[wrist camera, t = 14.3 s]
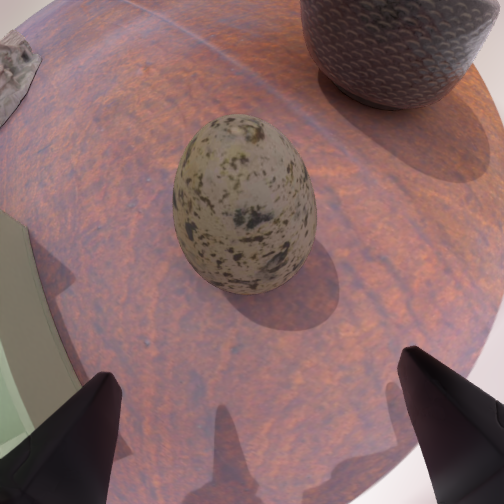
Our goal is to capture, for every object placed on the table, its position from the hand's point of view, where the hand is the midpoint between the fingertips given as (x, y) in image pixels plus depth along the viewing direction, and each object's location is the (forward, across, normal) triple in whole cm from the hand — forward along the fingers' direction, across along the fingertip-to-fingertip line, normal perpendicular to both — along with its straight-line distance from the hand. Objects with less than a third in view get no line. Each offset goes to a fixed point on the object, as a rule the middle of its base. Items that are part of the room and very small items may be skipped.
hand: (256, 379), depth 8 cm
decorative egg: (+10, 0, +1) cm, 10 cm away
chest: (+5, +19, +5) cm, 20 cm away
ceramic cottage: (+29, +33, -19) cm, 47 cm away
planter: (+20, -12, -10) cm, 25 cm away
